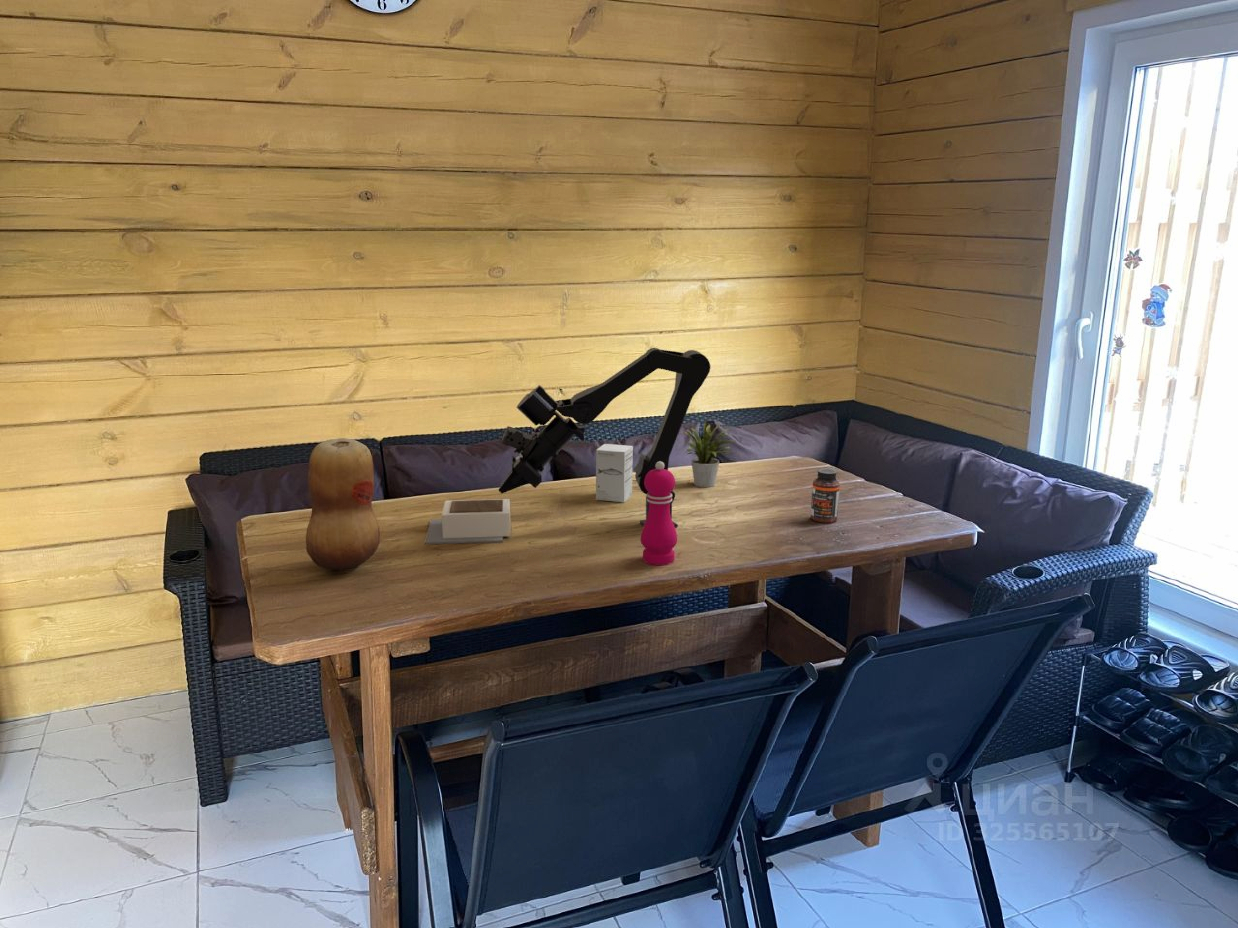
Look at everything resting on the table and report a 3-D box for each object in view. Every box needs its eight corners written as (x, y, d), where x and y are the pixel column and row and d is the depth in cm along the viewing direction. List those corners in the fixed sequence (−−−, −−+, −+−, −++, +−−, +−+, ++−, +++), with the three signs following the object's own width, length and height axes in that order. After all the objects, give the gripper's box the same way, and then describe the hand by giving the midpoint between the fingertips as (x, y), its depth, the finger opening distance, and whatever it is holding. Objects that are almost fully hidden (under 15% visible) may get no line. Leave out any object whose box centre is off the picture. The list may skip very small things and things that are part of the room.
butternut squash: (345, 585, 175) (336, 452, 169) (293, 572, 181) (282, 444, 175) (397, 563, 186) (390, 437, 180) (346, 551, 193) (338, 430, 187)
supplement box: (595, 500, 229) (594, 449, 226) (604, 492, 236) (604, 442, 233) (624, 503, 227) (624, 451, 224) (633, 495, 234) (633, 444, 231)
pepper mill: (632, 559, 189) (633, 461, 184) (657, 551, 194) (659, 455, 189) (659, 568, 184) (660, 468, 179) (684, 560, 189) (686, 461, 184)
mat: (503, 519, 215) (503, 517, 214) (502, 541, 199) (502, 540, 199) (431, 521, 213) (430, 519, 213) (424, 544, 197) (424, 542, 197)
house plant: (701, 496, 233) (703, 431, 229) (663, 485, 243) (664, 422, 239) (742, 486, 242) (744, 423, 238) (703, 476, 252) (705, 415, 248)
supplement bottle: (809, 522, 213) (812, 473, 210) (811, 514, 219) (813, 466, 216) (837, 524, 212) (840, 474, 209) (837, 516, 217) (840, 468, 215)
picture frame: (509, 497, 211) (445, 499, 209) (509, 511, 200) (441, 513, 199) (510, 520, 212) (446, 522, 211) (510, 536, 202) (442, 538, 200)
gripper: (523, 406, 210) (473, 456, 212) (524, 423, 192) (470, 477, 194) (559, 440, 213) (510, 489, 214) (563, 460, 195) (510, 513, 196)
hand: (500, 491), depth 205 cm, fingers closed
